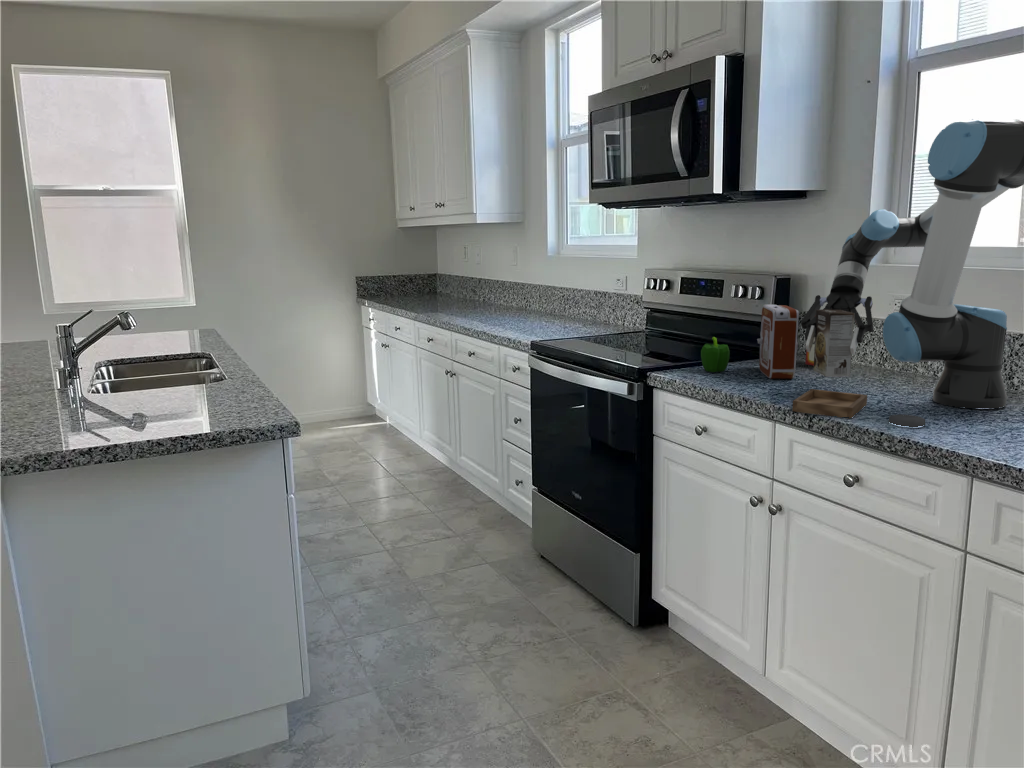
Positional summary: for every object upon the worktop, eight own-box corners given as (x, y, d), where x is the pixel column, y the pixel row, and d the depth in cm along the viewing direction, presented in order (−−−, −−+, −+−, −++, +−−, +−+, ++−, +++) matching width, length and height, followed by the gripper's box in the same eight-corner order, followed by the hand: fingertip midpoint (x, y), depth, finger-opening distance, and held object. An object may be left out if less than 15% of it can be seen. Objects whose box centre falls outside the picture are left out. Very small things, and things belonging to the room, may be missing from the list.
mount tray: (866, 405, 180) (867, 395, 179) (851, 418, 168) (852, 407, 168) (810, 398, 187) (811, 388, 187) (792, 411, 176) (792, 400, 175)
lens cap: (928, 424, 163) (929, 417, 163) (919, 431, 158) (920, 424, 158) (894, 419, 168) (894, 412, 168) (884, 425, 163) (884, 419, 163)
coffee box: (812, 371, 197) (815, 309, 194) (837, 370, 197) (840, 308, 194) (825, 377, 188) (828, 312, 185) (851, 376, 188) (855, 312, 185)
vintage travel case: (782, 367, 228) (785, 301, 224) (799, 380, 209) (804, 308, 205) (750, 367, 229) (754, 301, 225) (765, 380, 210) (769, 308, 206)
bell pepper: (727, 374, 219) (728, 340, 217) (698, 373, 222) (699, 339, 220) (730, 369, 227) (731, 336, 225) (702, 367, 230) (703, 335, 228)
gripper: (896, 293, 194) (880, 362, 185) (806, 291, 207) (786, 355, 198) (894, 273, 189) (877, 343, 179) (802, 273, 202) (781, 338, 193)
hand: (829, 350), depth 189 cm, fingers closed on coffee box, 10 cm apart
